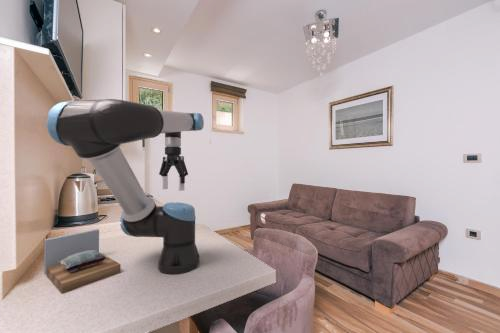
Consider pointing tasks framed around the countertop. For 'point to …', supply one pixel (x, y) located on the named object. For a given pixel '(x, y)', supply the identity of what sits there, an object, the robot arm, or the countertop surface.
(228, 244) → the countertop surface
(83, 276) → the plinth
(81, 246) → the backboard
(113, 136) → the robot arm
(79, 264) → the packaged food
